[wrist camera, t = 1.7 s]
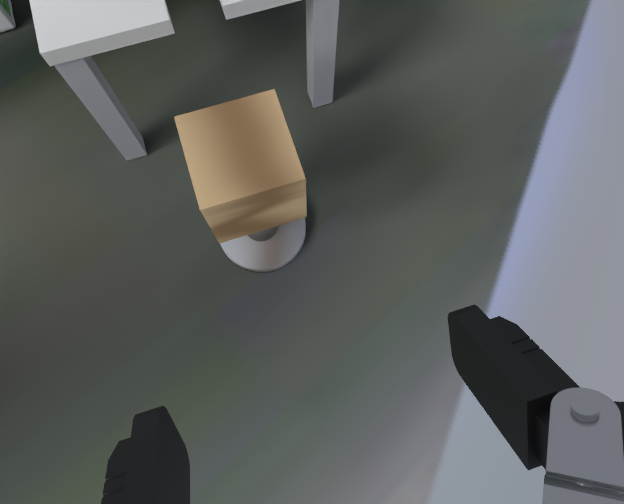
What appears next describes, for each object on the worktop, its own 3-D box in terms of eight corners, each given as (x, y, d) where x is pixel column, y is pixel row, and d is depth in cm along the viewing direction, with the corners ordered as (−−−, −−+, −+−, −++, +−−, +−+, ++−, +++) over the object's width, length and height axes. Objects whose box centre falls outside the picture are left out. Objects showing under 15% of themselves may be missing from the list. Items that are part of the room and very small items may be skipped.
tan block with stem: (232, 283, 34) (191, 223, 23) (209, 204, 36) (161, 110, 24) (317, 257, 35) (319, 184, 23) (291, 180, 36) (281, 77, 25)
